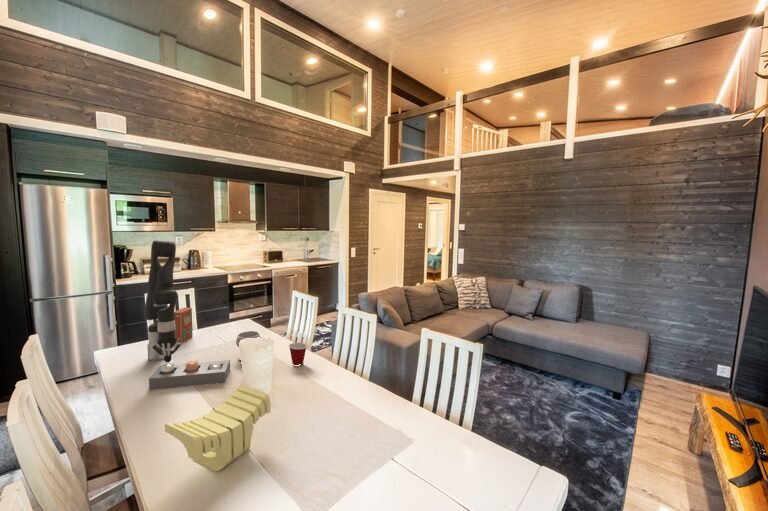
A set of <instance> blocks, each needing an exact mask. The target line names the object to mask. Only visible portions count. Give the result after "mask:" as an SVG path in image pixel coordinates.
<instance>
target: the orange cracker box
mask: <svg viewBox="0 0 768 511" xmlns="http://www.w3.org/2000/svg"><path fill="white" fill-rule="evenodd" d="M174 320H175V330H176V339H177V342H179V343H182V344H183V343H185V342H186V341H188V340H189V339H191V338H193V335H194V334H193V309H192V307H182V308H180V309H177V310H174Z"/></svg>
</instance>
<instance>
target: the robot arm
mask: <svg viewBox="0 0 768 511" xmlns="http://www.w3.org/2000/svg"><path fill="white" fill-rule="evenodd" d="M150 249H151V250H150V252H151V253H150V266H149V267H150V268H149V274H148V282H147V294H146V299H145V302H144V303H145V305H144V309H143V316H144V318H145V320H146V321H154V320H156V321H155V322H154V323H151V324H150V325H148V327H147V334H148V336H147V337H148V343H147V360H148V361H161V360H164V362H165V364H166V363H171V362H172V360H173V359H172V358H173V357H172V355H173V354H174V355H175V353H176V352H177V350H178V349H179V348H181V346H182V345H183V343H179V342H177V339H176V330H175V320H174V312H175V311H176V310H175V309H176V304H177V301H178V297H179V294H178V292H177V291H176V289H172V288H173V287H174V269H175V260H176V252H177V244H176V243H175V241H170V240H159V239H155V240H154V241H152V243H151V246H150ZM159 258H168V259H167V261H166V262H165V263H164V264H163V265H162V264H161V263H160V260H159ZM167 305H168V306H167ZM174 346H175V348H174V349H173V347H174Z"/></svg>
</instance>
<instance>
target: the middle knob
mask: <svg viewBox="0 0 768 511" xmlns="http://www.w3.org/2000/svg"><path fill="white" fill-rule="evenodd" d="M198 363H199V361H198V360H197V361H196V360H191V361H188V362H186V363H185V364H186V372H191V371H198Z"/></svg>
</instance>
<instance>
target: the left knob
mask: <svg viewBox="0 0 768 511" xmlns="http://www.w3.org/2000/svg"><path fill="white" fill-rule="evenodd" d="M174 365H175V363H174V362H169V363H166V362H165V363H164V364H161V365H160V366H161V370H162V374H168V373H174V372H175V367H174Z"/></svg>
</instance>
